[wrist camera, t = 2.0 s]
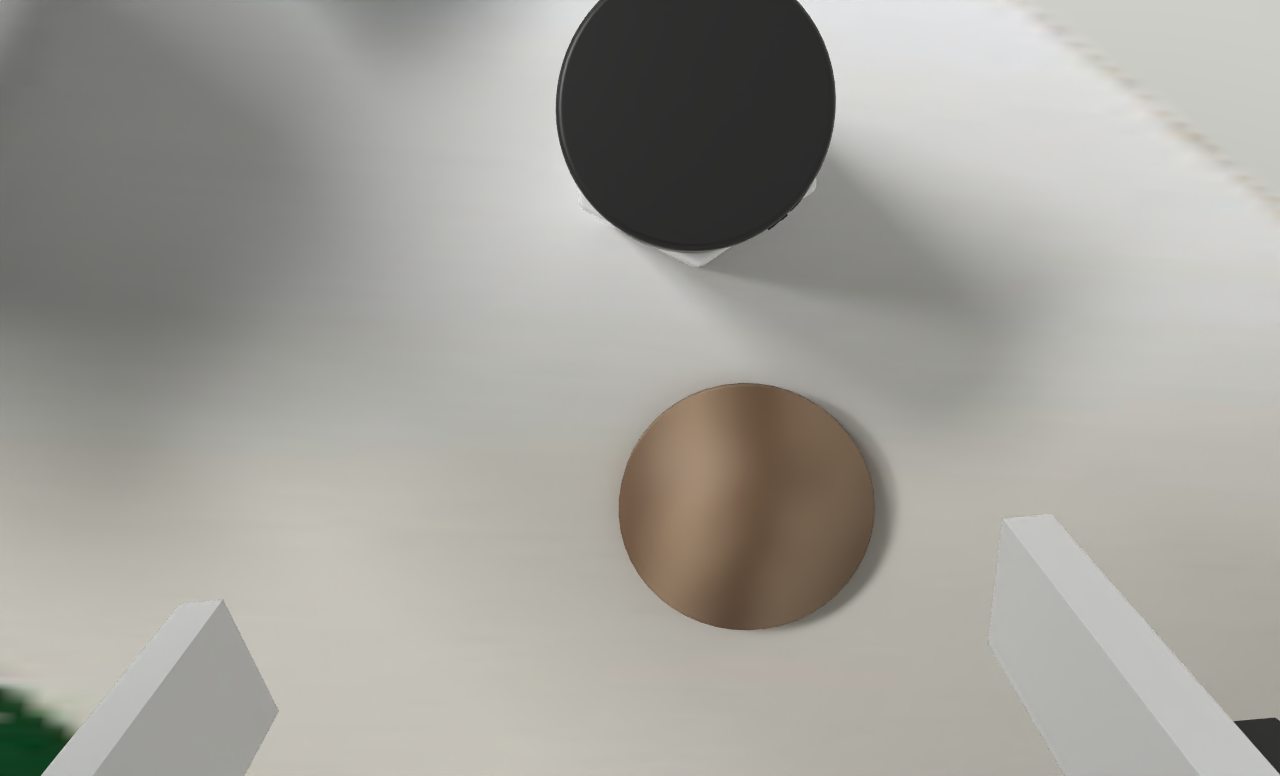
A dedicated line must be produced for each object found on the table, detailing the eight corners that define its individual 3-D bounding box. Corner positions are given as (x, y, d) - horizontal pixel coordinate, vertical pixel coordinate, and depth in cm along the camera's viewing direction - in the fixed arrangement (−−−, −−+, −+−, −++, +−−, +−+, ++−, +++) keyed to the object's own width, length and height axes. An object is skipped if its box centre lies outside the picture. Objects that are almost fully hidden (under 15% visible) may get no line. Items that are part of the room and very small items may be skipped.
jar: (784, 261, 33) (843, 256, 21) (607, 272, 33) (567, 274, 21) (777, 53, 31) (837, -78, 19) (592, 69, 32) (540, -49, 20)
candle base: (627, 622, 36) (625, 632, 35) (613, 388, 34) (611, 392, 33) (868, 617, 35) (874, 627, 34) (868, 377, 33) (874, 381, 32)
